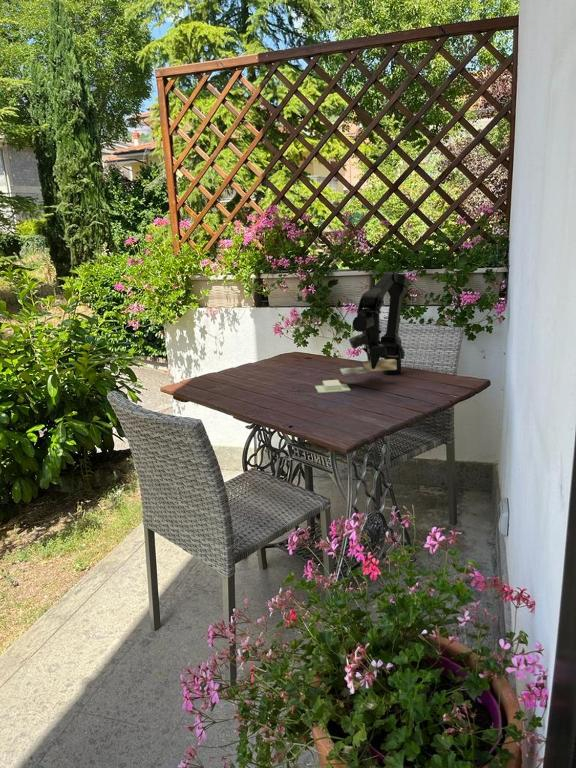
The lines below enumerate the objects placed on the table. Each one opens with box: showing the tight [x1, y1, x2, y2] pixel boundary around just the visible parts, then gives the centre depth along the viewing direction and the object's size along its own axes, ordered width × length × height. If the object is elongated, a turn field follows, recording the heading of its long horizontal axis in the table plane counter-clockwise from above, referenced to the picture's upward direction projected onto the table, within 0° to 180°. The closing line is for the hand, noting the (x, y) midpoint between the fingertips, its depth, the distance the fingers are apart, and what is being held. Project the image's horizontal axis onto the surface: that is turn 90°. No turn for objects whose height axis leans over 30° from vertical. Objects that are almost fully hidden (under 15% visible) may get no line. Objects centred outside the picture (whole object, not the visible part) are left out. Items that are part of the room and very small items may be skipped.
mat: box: [314, 383, 351, 394], centre depth 213 cm, size 12×9×1 cm
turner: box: [339, 359, 397, 376], centre depth 215 cm, size 21×7×4 cm, turn 95°
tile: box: [321, 379, 342, 390], centre depth 213 cm, size 6×2×8 cm
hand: (372, 367), depth 215 cm, fingers closed on turner, 3 cm apart
